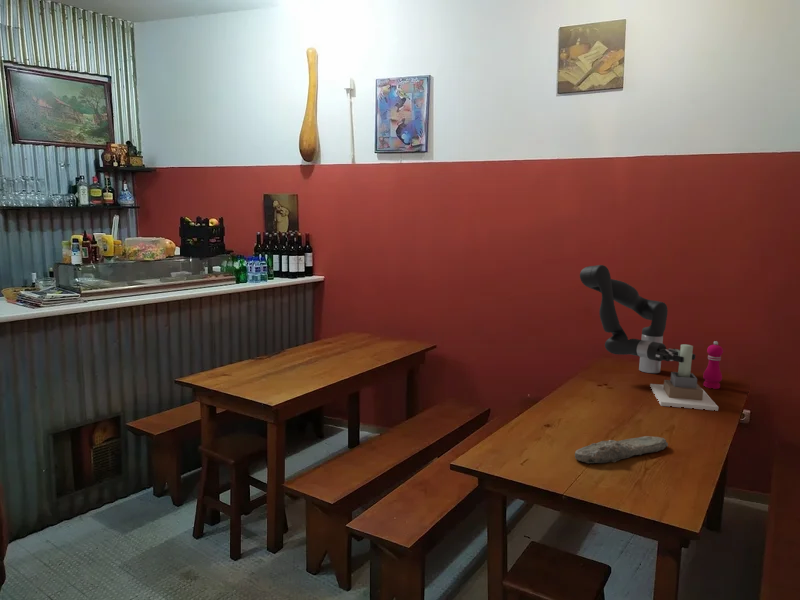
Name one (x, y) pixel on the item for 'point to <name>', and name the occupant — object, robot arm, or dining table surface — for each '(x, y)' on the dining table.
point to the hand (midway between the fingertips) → (689, 358)
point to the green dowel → (685, 360)
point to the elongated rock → (619, 449)
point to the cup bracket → (683, 393)
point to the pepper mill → (713, 367)
